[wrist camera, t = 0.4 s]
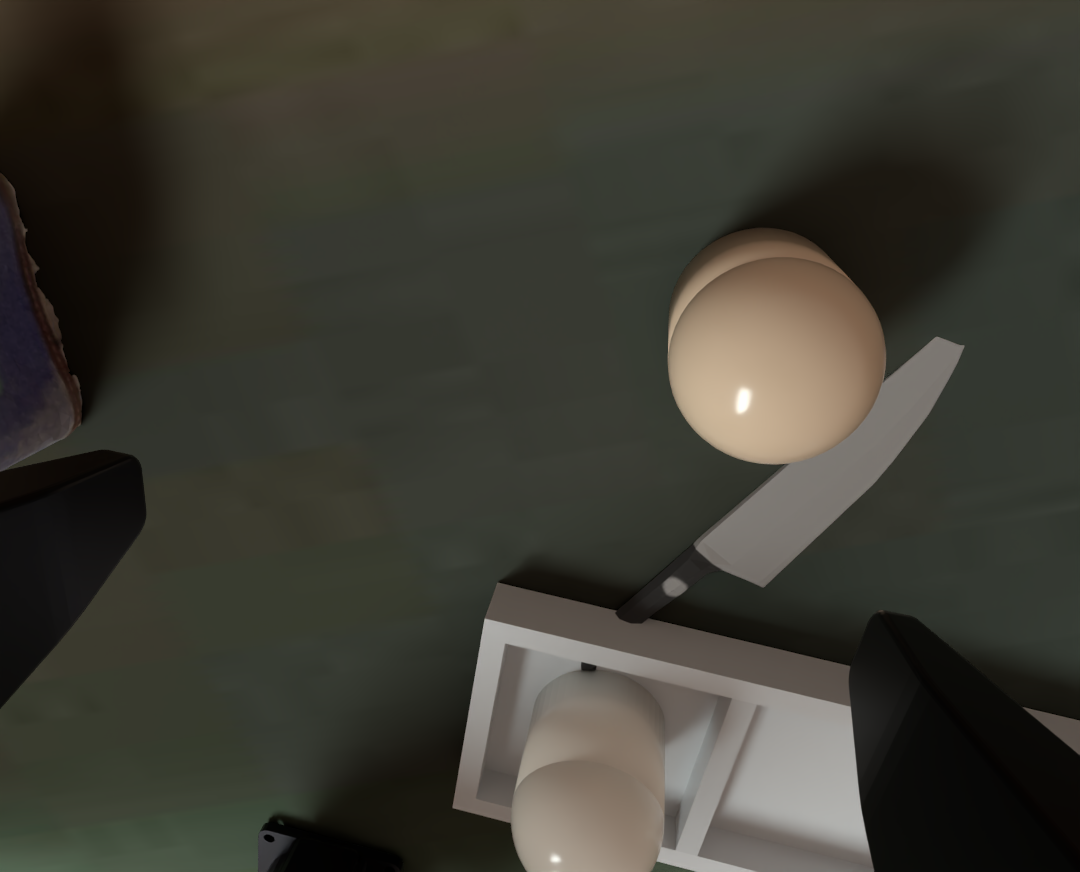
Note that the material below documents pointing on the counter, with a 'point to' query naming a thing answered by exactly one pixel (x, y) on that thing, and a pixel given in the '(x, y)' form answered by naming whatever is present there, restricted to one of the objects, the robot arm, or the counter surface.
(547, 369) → the counter surface
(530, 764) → the cream egg
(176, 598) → the counter surface
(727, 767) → the egg carton
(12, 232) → the flask
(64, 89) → the counter surface
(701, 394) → the tan egg
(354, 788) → the counter surface
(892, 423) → the chef's knife
